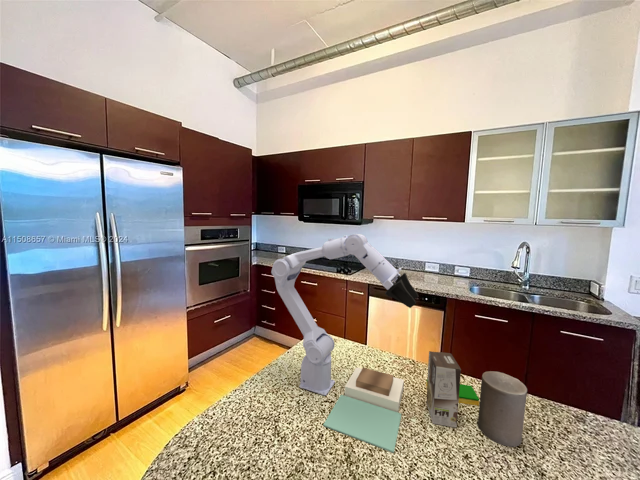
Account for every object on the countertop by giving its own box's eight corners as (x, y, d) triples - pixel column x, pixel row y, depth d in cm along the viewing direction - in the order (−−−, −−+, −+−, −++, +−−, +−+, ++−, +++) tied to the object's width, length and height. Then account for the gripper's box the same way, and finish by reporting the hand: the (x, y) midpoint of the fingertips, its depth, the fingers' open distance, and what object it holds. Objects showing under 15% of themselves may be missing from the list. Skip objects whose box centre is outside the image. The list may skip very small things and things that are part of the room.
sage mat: (323, 426, 69) (323, 424, 69) (341, 395, 81) (341, 394, 81) (393, 452, 62) (393, 451, 61) (401, 415, 74) (401, 413, 74)
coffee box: (458, 428, 70) (462, 369, 68) (432, 424, 71) (435, 366, 70) (448, 405, 78) (451, 352, 77) (425, 401, 80) (428, 349, 79)
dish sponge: (425, 385, 88) (426, 378, 88) (471, 392, 85) (471, 385, 85) (429, 399, 81) (430, 391, 81) (479, 407, 78) (479, 399, 78)
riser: (344, 395, 81) (344, 386, 81) (355, 375, 92) (356, 367, 92) (398, 412, 75) (398, 402, 74) (403, 388, 86) (403, 379, 85)
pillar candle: (469, 423, 71) (473, 370, 70) (492, 413, 75) (496, 363, 74) (507, 453, 63) (513, 393, 61) (531, 439, 67) (537, 383, 65)
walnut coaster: (355, 386, 81) (356, 380, 81) (362, 373, 88) (362, 367, 88) (388, 396, 77) (389, 389, 77) (393, 381, 84) (393, 375, 84)
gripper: (383, 259, 68) (423, 298, 64) (392, 253, 81) (426, 286, 77) (364, 277, 70) (403, 317, 67) (376, 269, 83) (409, 301, 80)
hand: (414, 301), depth 72 cm, fingers open, 7 cm apart
